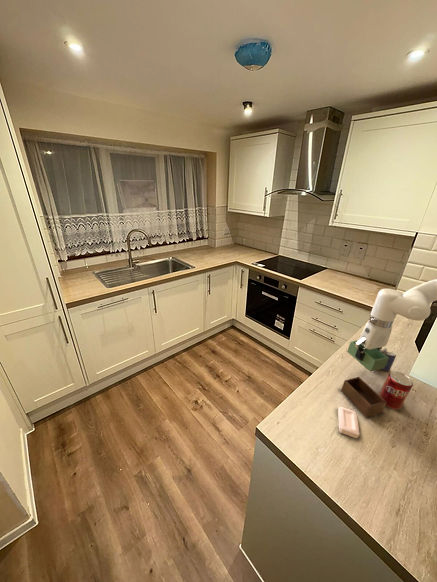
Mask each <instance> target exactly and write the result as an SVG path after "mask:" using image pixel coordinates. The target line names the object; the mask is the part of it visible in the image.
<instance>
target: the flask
mask: <svg viewBox="0 0 437 582" xmlns="http://www.w3.org/2000/svg"><path fill="white" fill-rule="evenodd" d="M380 352H382V353H383V354H385V355H386V356H387V357H389V359H388V361H387V363H386V365H385V367H384V369H379V370H378V371H381V372H385V373H386V372H387V373H390V372H391V369H392V366H393V365H394V362H395V360H396V358H397V354H396V353H395V352H393V351H392V352H390V351H388V348H387V347H383V348H382V349H381V350H380Z"/></svg>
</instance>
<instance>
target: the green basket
mask: <svg viewBox="0 0 437 582" xmlns="http://www.w3.org/2000/svg"><path fill="white" fill-rule="evenodd" d="M358 341H359V339H357V340H352V341H350V342H349V345H348V347H347V351H346V353H348V354H349V355H350V356H351V357H352V358H354V359H355V360H356V361H357V362H358V363H360V365H362V366H363V367H364V368H365V369H366V370H367V371H369V372H375V371H380V370H379V369H384V367H385V365H386V363H387V361H388V359H389V357H387V356H386V355H385V354H383V353H382V352H380V351H379V350H378V349H376V348H375V349H367V350H366V351H365V352H364V353H365V355H364V358H363V360H362V361H360V360H359V359H358V358H356V357H355V354H356V352H357V348H356V346H355V343H356V342H358ZM364 345H365V343H364ZM361 348H362V349H364V346H362V347H361Z"/></svg>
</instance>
